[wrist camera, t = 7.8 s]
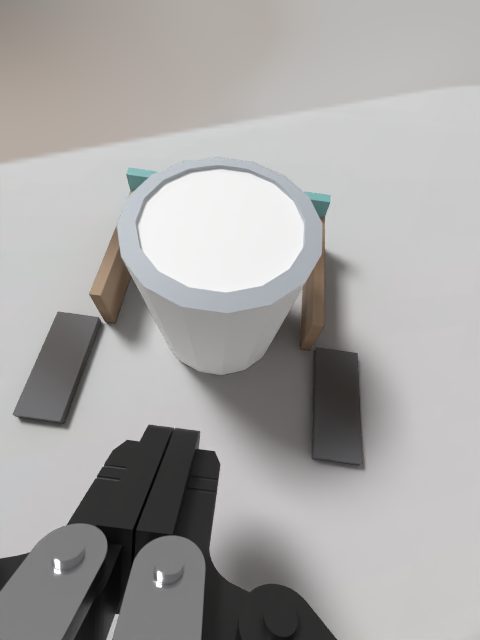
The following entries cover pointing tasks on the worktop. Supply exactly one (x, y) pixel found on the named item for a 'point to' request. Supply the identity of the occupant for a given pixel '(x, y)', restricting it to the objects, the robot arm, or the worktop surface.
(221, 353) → the white cup
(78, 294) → the worktop surface
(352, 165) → the worktop surface
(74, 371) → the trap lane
